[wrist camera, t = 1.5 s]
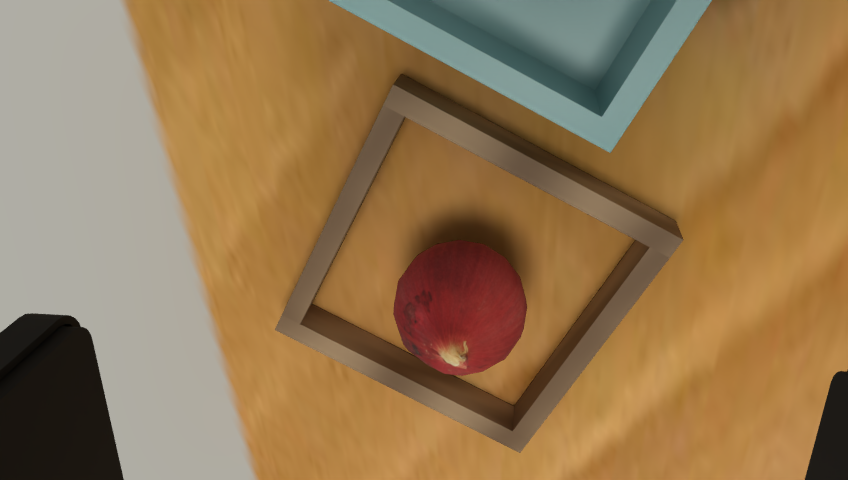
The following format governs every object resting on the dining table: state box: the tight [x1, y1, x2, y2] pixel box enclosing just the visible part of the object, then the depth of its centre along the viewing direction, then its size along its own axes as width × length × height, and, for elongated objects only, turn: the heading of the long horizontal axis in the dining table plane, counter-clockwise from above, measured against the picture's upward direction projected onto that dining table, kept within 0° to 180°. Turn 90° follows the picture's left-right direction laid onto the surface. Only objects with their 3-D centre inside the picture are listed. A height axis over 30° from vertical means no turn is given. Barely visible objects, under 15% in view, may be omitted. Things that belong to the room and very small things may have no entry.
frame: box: [275, 74, 683, 453], centre depth 34 cm, size 14×14×2 cm
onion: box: [394, 240, 527, 376], centre depth 32 cm, size 6×6×8 cm
